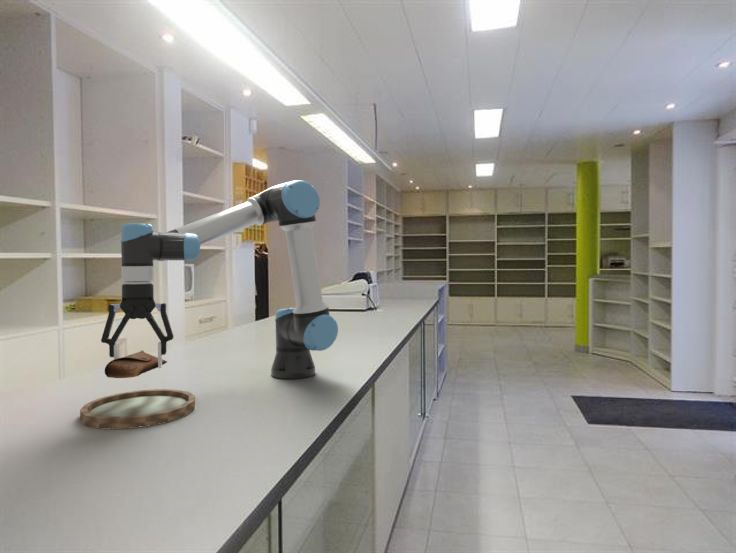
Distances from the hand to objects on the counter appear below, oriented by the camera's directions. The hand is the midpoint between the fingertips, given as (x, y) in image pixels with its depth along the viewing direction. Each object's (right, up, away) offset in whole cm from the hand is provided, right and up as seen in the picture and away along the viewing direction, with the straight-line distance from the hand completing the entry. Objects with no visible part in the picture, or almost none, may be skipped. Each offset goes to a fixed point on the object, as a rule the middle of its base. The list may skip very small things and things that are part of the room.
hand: (138, 368), depth 133 cm
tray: (0, -12, 0) cm, 12 cm away
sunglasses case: (0, -1, 0) cm, 1 cm away
